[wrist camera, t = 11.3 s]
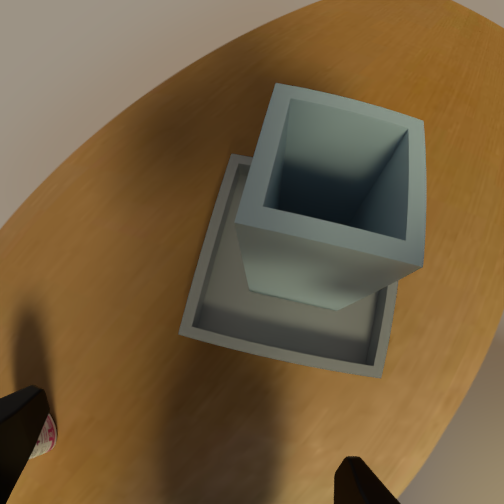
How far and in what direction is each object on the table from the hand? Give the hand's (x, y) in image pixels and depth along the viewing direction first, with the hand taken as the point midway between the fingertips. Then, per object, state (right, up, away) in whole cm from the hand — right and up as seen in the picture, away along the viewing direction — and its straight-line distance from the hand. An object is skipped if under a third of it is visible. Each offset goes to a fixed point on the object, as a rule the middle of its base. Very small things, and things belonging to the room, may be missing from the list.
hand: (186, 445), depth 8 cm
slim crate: (+5, +5, +15) cm, 16 cm away
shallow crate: (+5, +4, +15) cm, 17 cm away
